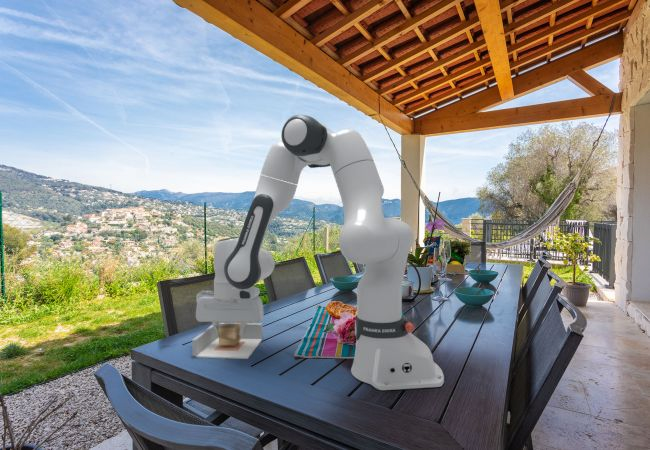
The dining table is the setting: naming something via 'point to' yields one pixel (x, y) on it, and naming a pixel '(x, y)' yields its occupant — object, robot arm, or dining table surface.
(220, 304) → the robot arm
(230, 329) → the oak cube
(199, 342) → the corner arena
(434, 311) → the dining table surface
